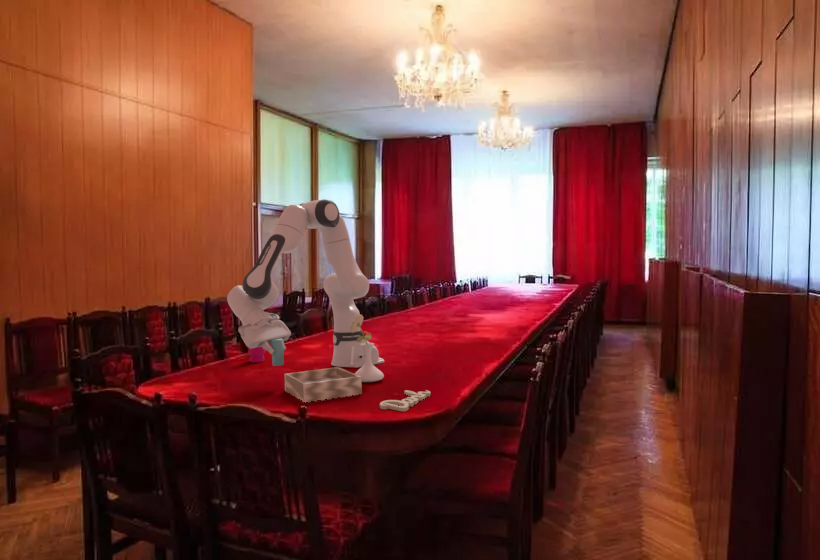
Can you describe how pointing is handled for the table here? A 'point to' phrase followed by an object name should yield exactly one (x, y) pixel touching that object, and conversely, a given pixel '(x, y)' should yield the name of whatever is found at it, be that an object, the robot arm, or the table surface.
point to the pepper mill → (256, 354)
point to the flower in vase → (366, 355)
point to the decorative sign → (405, 401)
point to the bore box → (323, 384)
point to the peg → (277, 352)
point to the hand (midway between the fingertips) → (278, 351)
